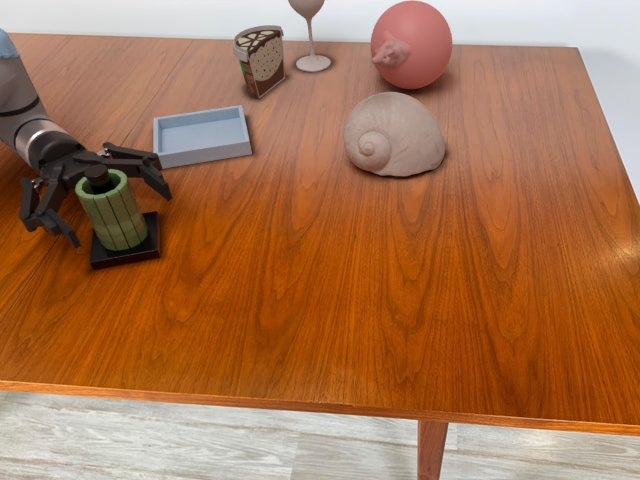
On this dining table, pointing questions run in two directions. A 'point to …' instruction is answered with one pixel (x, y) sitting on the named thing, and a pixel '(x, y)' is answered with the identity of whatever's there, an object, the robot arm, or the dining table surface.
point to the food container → (260, 58)
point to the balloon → (411, 44)
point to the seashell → (393, 135)
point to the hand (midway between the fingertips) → (123, 214)
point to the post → (143, 251)
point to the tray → (200, 136)
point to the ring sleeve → (114, 213)
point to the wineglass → (310, 35)
